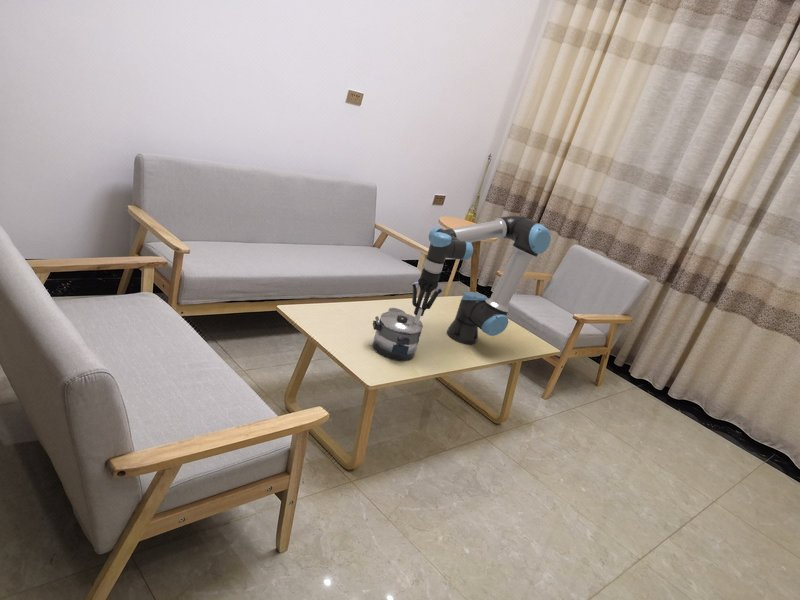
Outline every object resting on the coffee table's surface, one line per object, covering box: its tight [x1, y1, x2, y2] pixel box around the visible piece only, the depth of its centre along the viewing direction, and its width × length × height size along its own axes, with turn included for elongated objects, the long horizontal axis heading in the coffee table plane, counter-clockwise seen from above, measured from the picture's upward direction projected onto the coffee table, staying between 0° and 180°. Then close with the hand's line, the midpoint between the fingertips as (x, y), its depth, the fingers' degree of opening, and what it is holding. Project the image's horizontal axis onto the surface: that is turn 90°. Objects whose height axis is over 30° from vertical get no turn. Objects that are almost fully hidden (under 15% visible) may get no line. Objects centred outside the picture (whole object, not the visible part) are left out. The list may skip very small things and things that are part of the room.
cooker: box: [372, 320, 422, 362], centre depth 228 cm, size 20×23×12 cm
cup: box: [387, 307, 406, 313], centre depth 246 cm, size 8×8×10 cm
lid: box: [375, 311, 424, 334], centre depth 225 cm, size 20×18×4 cm
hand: (416, 322), depth 227 cm, fingers closed
